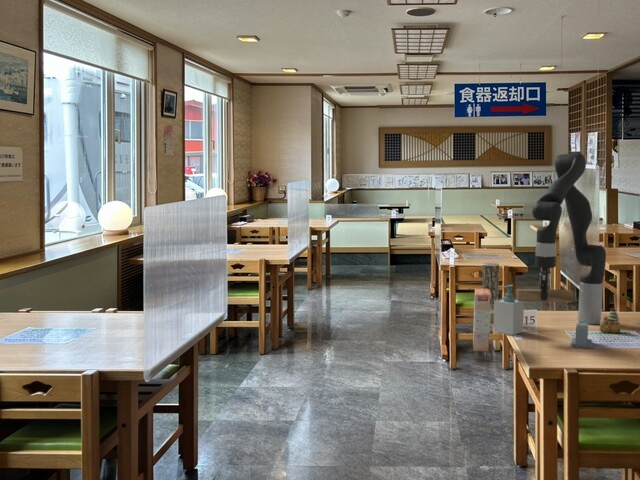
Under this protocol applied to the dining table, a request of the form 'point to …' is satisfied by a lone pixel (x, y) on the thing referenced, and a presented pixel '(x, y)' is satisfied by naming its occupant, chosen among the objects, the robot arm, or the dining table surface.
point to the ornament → (610, 323)
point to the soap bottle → (508, 314)
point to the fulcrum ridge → (581, 336)
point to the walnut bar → (552, 295)
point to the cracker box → (481, 320)
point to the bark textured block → (491, 283)
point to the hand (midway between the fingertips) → (544, 298)
